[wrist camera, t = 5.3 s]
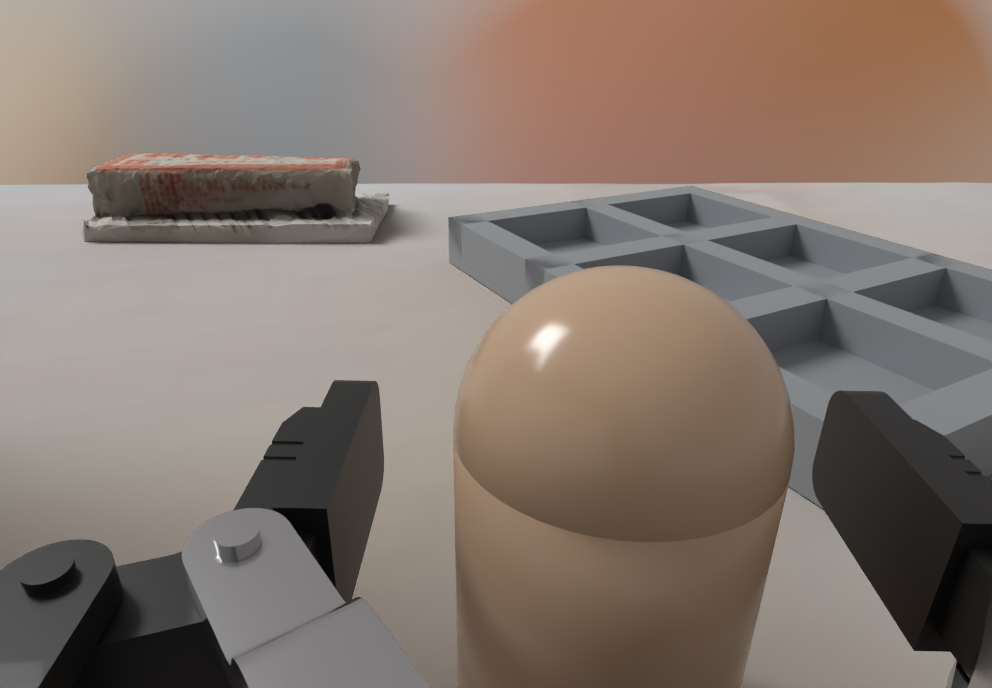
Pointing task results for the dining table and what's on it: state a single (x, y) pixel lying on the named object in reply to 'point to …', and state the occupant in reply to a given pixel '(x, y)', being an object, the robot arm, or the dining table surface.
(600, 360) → the tan domed cylinder
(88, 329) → the dining table surface
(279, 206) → the packaged product
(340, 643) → the robot arm
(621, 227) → the grey compartment tray
